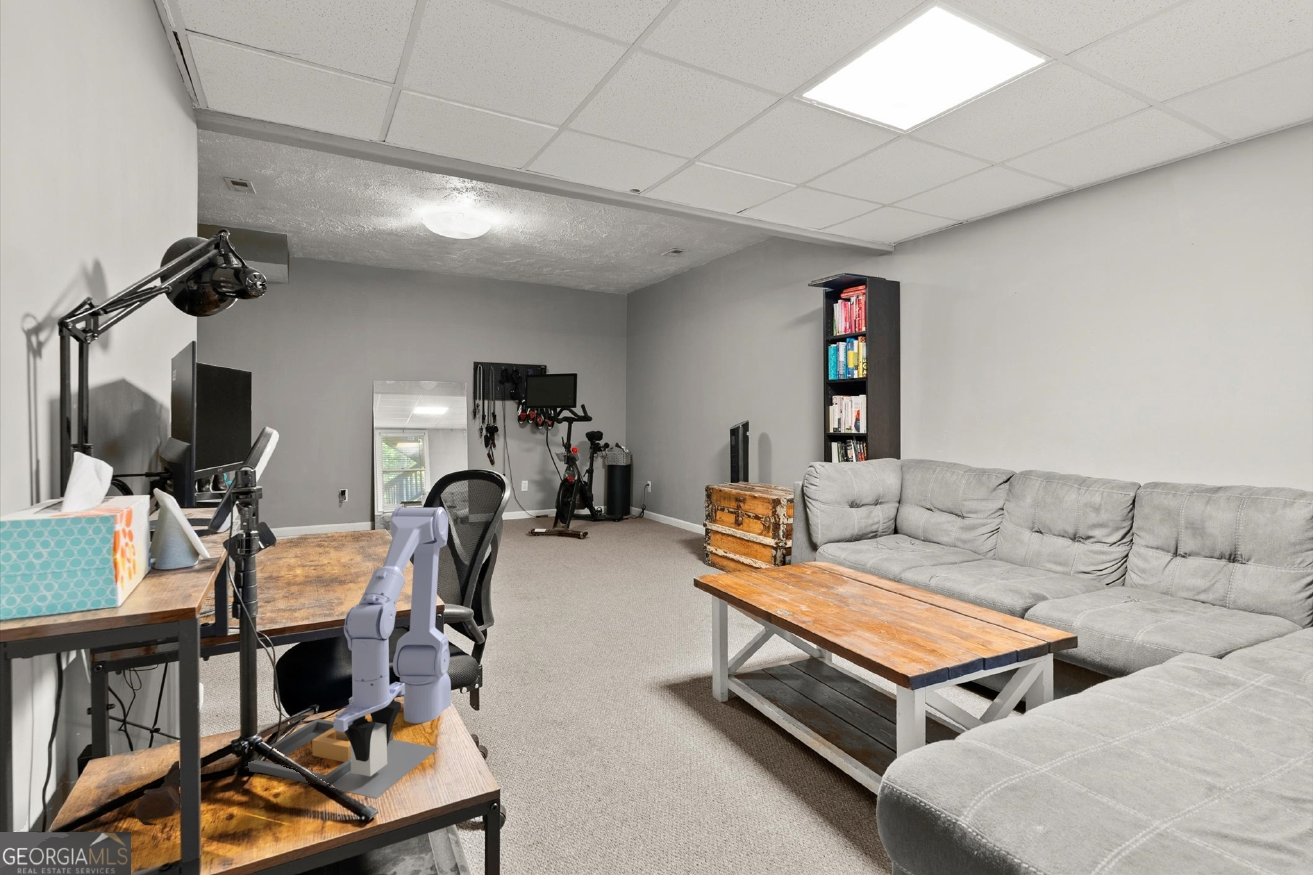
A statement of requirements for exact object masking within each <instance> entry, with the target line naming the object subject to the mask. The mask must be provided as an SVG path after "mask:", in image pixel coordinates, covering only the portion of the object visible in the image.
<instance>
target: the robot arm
mask: <svg viewBox="0 0 1313 875" xmlns="http://www.w3.org/2000/svg"><path fill="white" fill-rule="evenodd" d="M389 527H390V535H391V538H392V539H391V541H390V545H389V548H388V550H387V554H386V556H385V559H384V562H383V565H382V567H379V568H377V569H375V570H374V571H373V573H372V575H371V577H370V579H369V581H368V583H367V585H366V587H365V590H364V591H363V594H362V596H361V598H360V601H359V603H357V604H356V605H354V606H353V607H350V608H349V610H348V611H347V613H346V616H345V620H344V626H343V633H344V636H345V638H346V640H347V648H348V650H349V651H351V678H352V679H351V681H352V684H351V686H352V687H351V688H352V689H351V690H352V696H351V697H350V698H348V703H349V704H348V705H346V707H345V708H344V709H345V710H344V709H343V710H344V711H343V710H342V711H343V712H342V713H341V714H340V715H338V716H337V717H336V716H335V717H334V718H333V722H334V730H335V731H341V732H344V733H345V734H346V735H347V737H348V739H349V741H350V743H351V745H352V748H353V751H354V754H355V758H356V760H359V761H364V762H366V761H367V760H368V759H369V755H370V740H371V735H372V731H373V728H374V725H375V722H376V723H382V724H386V734H387V746H388V742H389V738H390V734H391V732H392V730H393V726H394V723H395V721H396V719H397V716H398V714H399V712H400V711H401V709H402V702H401V701H396V700H395V698H396V697H398V696H400V697H401V696H403V719H404V720H403V721H405V722H407V723H409V724H424V723H429V722H431V721H432V722H433V720H436V719H437V718H438V717H439V716H441V714H442V713H443V712H444V711H445V710H447V709H448V708H450V707H452V694H451V693H452V692H451V691H452V687H451V686H452V683H451V682H452V681H451V678H450V676H449V674H448V669H449V667H450V666H449V665H450V658H451V657H450V656H451V654H450V648H449V639H448V638H449V637H448V636H447V635H445V634H444V633H443V632H441V631H440V630H439V629H437V627H436V619H437V618H436V616H437V598H438V597H437V594H438V581H439V580H438V576H439V559H440V558H439V557H440V549H441V548H443V547H445V546H447V543H448V542H447V541H448V539H449V538H448V535H449V534H448V533H449V516H448V513H447V511H446V510H445V508H444V507H442V506H438V507H403V506H397V507H396V508H394V510H393V512H392V513H391V516H390V521H389ZM412 555H413V556H412ZM411 557H413V567H412V583H411V584H412V586H411V602H410V603H411V604H410V617H409V618H410V620H409V631H406V632H405V633H404V634H403V635H402V636H401V637H399V638H398V640H397V642H396V647H395V653H394V656H393V662H392V669H393V672H394V674H395V676H397V677H399V682H398V681H395V682H393V683H391V684H390V660H389V658H390V654H389V653H390V649H389V641H390V640H389V639H390V638H389V637H390V636H391V635H392V633H393V631H394V628H395V622H396V614H397V610H398V609H397V607H396V605H397V603H398V600H399V598H400V595H401V593H402V590H403V588H404V586H405V582H406V578H405V576H404V575H403V573H404V571H405V568H406V567H407V565H408V564H409V562H410V560H411ZM369 714H370V716H371V717H370V718H371V721H368V718H366V716H367V715H369Z"/></svg>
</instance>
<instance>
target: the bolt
mask: <svg viewBox="0 0 1313 875" xmlns="http://www.w3.org/2000/svg"><path fill="white" fill-rule="evenodd" d="M200 757H201V767H202V765H203V757H202V756H200ZM163 780H164V781H163V783H162V784H161V786H159V787H158V788H151V789H147V791H146V792H145V793H144V795H143V796H142V797H141V799H140V801H139V803H138V804H137V806H136V807H135V809H134V815H135V817H136V818H137V820H138V822H140V823H141V824H142V825H144V826H149V827H150V826H157V825H158V824H156V823H153V822H150V821H147V820H154V819H159V818H164V817H171V816H174V814H175V813H176V811H177V809H178V808H179V806H180V805H179V797H180V796H179V760H176V761H174V762H173V763H172V765H171V766H170V768H169V769H168V771H167V773H166V774H165V777H164V778H163Z"/></svg>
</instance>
